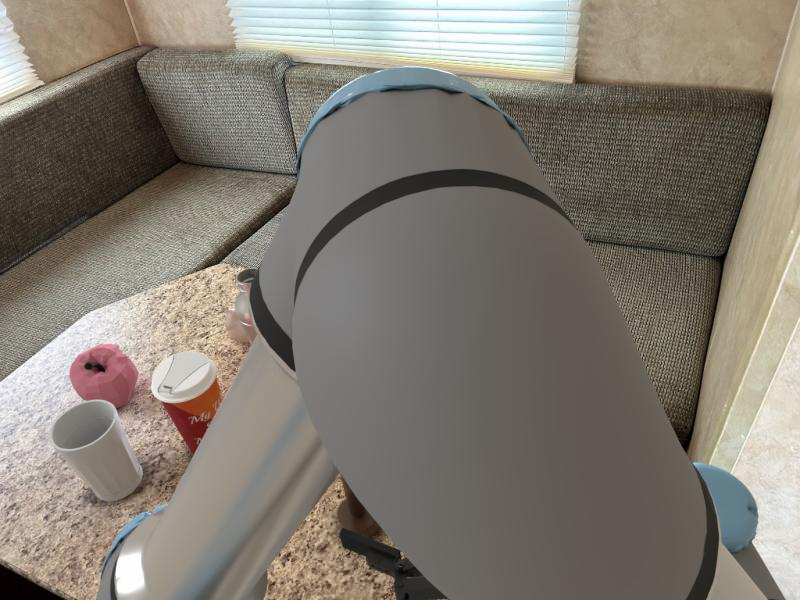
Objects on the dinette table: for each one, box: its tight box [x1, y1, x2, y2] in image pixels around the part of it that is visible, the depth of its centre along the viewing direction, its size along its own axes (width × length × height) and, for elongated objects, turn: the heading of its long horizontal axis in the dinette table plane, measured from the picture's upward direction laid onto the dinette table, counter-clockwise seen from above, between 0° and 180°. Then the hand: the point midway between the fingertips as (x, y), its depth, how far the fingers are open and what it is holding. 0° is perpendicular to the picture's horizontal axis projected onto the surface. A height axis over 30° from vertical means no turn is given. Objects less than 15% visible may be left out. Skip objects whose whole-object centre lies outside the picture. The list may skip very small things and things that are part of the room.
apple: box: [68, 343, 140, 409], centre depth 91 cm, size 10×9×10 cm
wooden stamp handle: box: [336, 473, 380, 539], centre depth 69 cm, size 5×5×16 cm
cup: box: [48, 400, 144, 502], centre depth 78 cm, size 8×8×12 cm
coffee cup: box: [150, 350, 224, 455], centre depth 81 cm, size 8×8×15 cm
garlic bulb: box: [220, 305, 250, 344], centre depth 100 cm, size 7×6×8 cm
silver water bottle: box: [234, 267, 258, 346], centre depth 89 cm, size 6×7×20 cm
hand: (370, 484), depth 68 cm, fingers open, 13 cm apart
